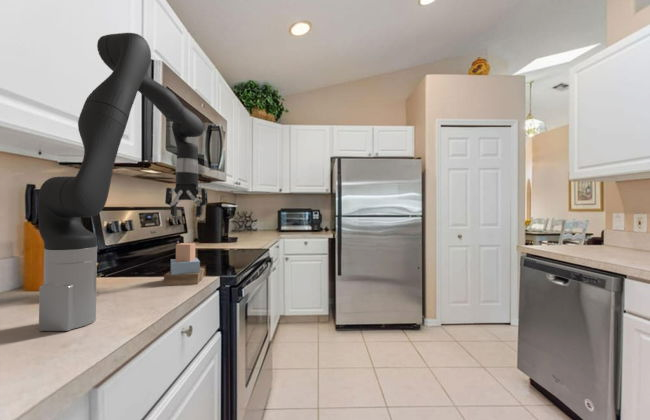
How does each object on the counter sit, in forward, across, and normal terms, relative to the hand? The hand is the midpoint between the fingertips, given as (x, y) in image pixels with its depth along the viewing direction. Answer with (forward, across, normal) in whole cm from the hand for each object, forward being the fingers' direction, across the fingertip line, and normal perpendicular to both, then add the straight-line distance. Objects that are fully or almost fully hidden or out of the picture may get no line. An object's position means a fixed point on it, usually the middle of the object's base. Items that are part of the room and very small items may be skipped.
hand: (186, 216), depth 111 cm
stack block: (+16, 0, 0) cm, 16 cm away
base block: (+24, 0, 0) cm, 24 cm away
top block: (+20, 0, 0) cm, 20 cm away
